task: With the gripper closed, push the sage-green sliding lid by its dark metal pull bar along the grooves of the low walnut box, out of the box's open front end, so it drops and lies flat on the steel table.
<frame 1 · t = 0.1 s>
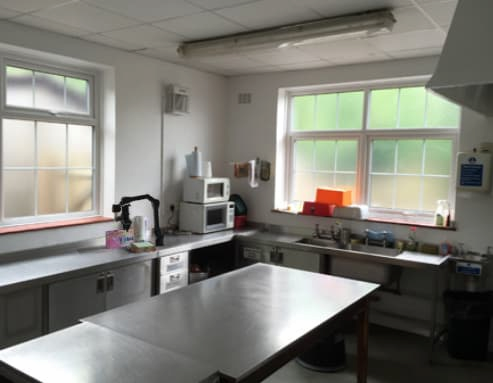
hand: (125, 231, 361), 14 cm above the counter, fingers open, 9 cm apart
box: (143, 249, 358), on the counter
gum box: (120, 246, 372), on the counter
lid: (143, 244, 357), point 4 cm above the counter, touching box
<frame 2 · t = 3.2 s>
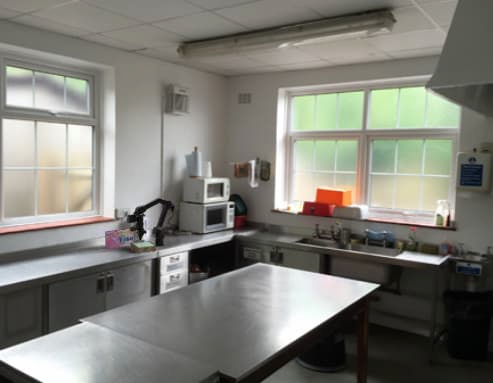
hand: (140, 240, 365), 6 cm above the counter, fingers closed
lid: (143, 245, 357), point 4 cm above the counter, touching gripper
everything else where it was.
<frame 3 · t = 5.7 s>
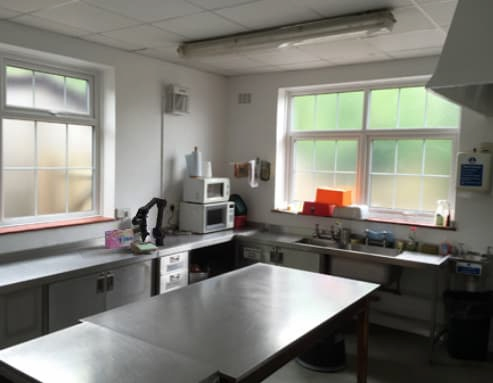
hand: (143, 242, 356), 6 cm above the counter, fingers closed
lid: (146, 247, 348), point 4 cm above the counter, touching box, gripper
everything else where it was.
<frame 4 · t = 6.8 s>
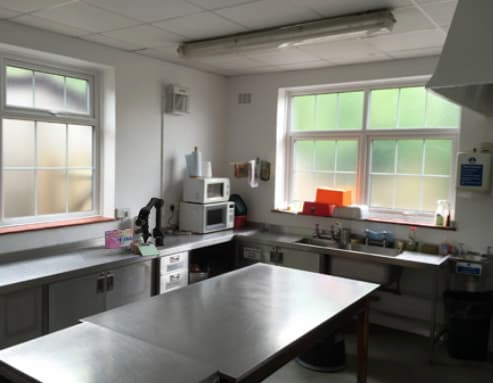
hand: (145, 244, 351), 6 cm above the counter, fingers closed
lid: (148, 250, 344), point 2 cm above the counter, tilted 15°, touching box, gripper
everything else where it was.
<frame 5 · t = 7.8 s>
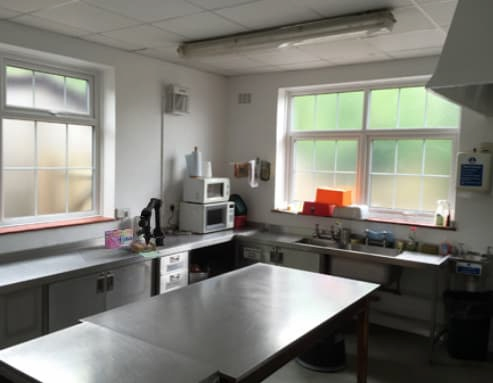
hand: (146, 245, 347), 6 cm above the counter, fingers closed
lid: (149, 255, 341), on the counter
everything else where it was.
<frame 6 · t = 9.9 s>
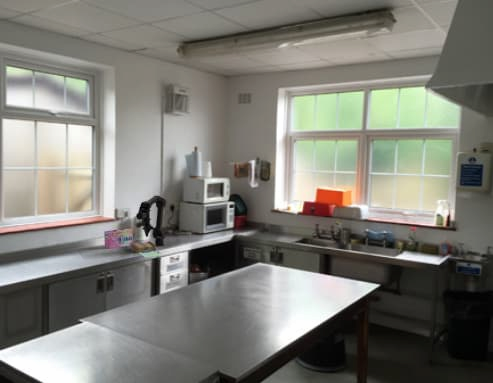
hand: (146, 236, 355), 11 cm above the counter, fingers closed
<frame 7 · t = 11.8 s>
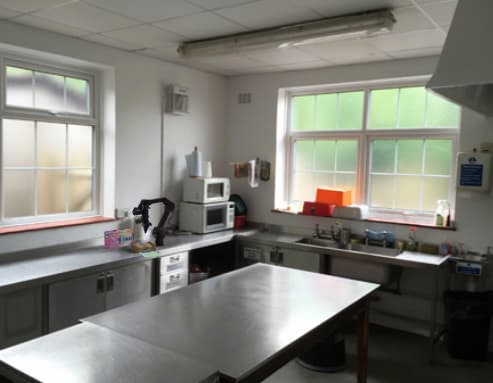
hand: (145, 233, 365), 12 cm above the counter, fingers closed
at the end: lid inside the target area (4.8 cm from its centre), on the counter; lid tilted 0°; lid moved 19.0 cm from its start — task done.
